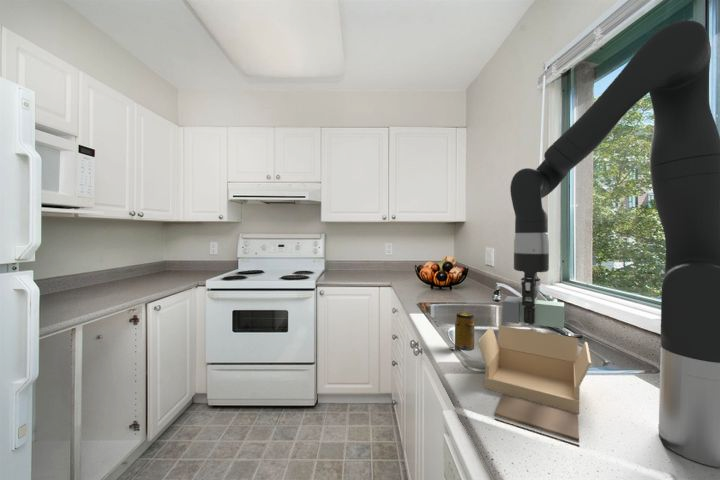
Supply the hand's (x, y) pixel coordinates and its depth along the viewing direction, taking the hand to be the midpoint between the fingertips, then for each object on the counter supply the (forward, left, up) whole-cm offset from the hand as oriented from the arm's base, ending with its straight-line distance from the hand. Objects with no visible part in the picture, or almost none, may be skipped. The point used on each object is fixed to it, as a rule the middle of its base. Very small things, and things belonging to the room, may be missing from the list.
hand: (530, 320), depth 76 cm
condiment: (+19, -16, -17) cm, 30 cm away
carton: (-1, 0, -17) cm, 17 cm away
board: (-3, +14, -17) cm, 22 cm away
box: (0, 0, 0) cm, 0 cm away
